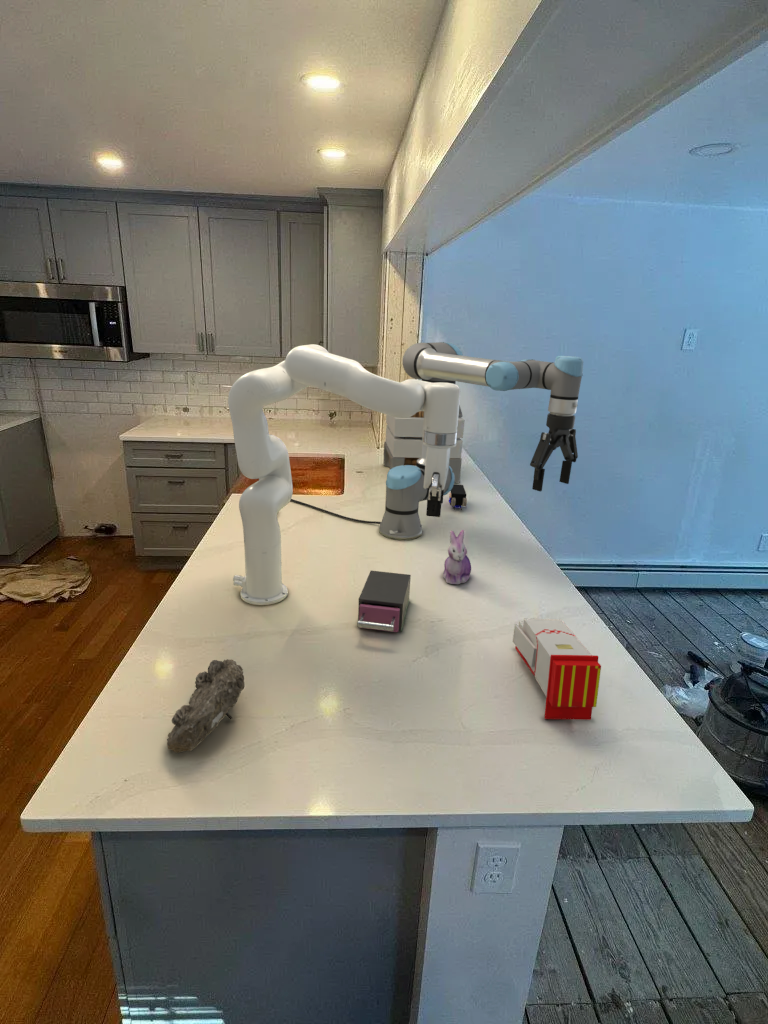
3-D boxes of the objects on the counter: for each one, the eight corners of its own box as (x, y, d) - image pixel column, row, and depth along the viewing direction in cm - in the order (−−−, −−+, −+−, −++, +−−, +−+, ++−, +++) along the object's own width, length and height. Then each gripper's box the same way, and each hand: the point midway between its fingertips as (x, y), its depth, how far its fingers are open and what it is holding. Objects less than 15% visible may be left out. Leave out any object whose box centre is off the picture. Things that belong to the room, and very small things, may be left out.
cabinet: (401, 632, 139) (403, 603, 137) (357, 626, 141) (358, 598, 138) (409, 600, 155) (410, 574, 152) (369, 595, 156) (370, 570, 153)
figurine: (453, 588, 162) (457, 540, 157) (434, 573, 170) (437, 527, 165) (479, 582, 166) (485, 535, 161) (459, 568, 175) (464, 523, 170)
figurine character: (467, 515, 225) (461, 499, 238) (469, 498, 221) (463, 482, 235) (450, 514, 224) (445, 498, 238) (452, 497, 221) (447, 482, 234)
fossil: (192, 660, 117) (244, 628, 112) (224, 691, 120) (276, 661, 115) (142, 746, 98) (202, 712, 93) (182, 779, 101) (242, 748, 96)
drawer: (394, 644, 132) (396, 622, 130) (354, 639, 134) (354, 617, 132) (405, 602, 152) (406, 582, 149) (369, 598, 153) (370, 578, 151)
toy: (557, 603, 136) (610, 662, 107) (552, 655, 139) (602, 726, 109) (507, 602, 136) (546, 661, 106) (503, 654, 138) (540, 725, 109)
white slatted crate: (382, 463, 289) (386, 382, 275) (445, 464, 293) (451, 384, 279) (390, 482, 257) (394, 392, 243) (460, 483, 261) (468, 394, 247)
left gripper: (426, 430, 138) (422, 496, 143) (419, 445, 121) (415, 520, 127) (457, 432, 137) (452, 499, 142) (455, 448, 120) (448, 523, 126)
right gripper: (547, 419, 148) (536, 497, 155) (597, 412, 163) (585, 482, 170) (523, 415, 153) (513, 490, 160) (574, 408, 169) (563, 476, 176)
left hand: (434, 509), depth 135 cm, fingers open, 9 cm apart
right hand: (550, 486), depth 165 cm, fingers open, 13 cm apart
